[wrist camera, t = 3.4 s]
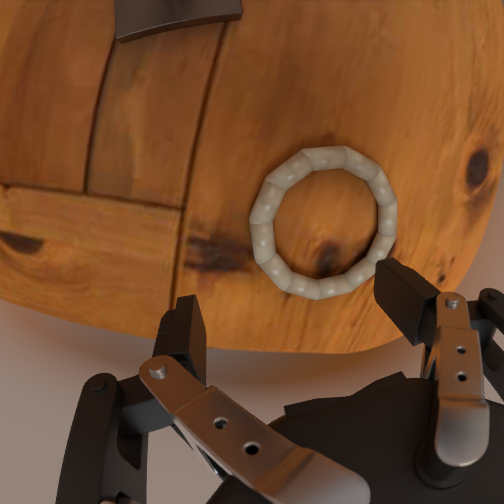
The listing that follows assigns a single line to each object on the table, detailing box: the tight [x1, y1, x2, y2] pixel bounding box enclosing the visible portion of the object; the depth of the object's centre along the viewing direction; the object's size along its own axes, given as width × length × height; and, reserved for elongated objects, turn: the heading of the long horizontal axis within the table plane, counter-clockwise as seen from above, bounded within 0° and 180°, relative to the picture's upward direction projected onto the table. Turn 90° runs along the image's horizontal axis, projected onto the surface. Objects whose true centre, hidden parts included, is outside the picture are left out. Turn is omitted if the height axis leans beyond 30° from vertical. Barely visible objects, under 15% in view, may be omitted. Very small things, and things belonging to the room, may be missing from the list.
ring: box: [249, 146, 398, 300], centre depth 19 cm, size 11×11×2 cm
